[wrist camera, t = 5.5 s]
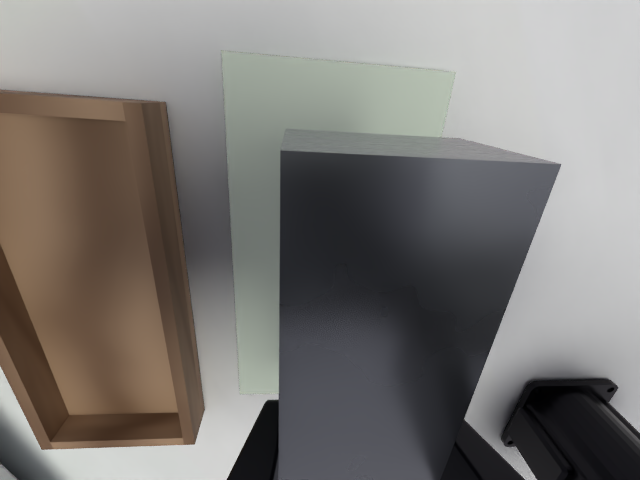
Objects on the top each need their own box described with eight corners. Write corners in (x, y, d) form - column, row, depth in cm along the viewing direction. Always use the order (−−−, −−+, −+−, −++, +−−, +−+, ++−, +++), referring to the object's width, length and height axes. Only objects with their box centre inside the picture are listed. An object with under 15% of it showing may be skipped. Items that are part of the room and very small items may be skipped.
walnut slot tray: (165, 102, 12) (140, 103, 10) (204, 409, 20) (194, 444, 18) (-65, 84, 11) (-140, 82, 9) (67, 412, 19) (41, 449, 17)
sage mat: (449, 72, 13) (455, 72, 12) (381, 383, 20) (383, 391, 20) (224, 52, 12) (221, 50, 11) (241, 386, 19) (239, 394, 19)
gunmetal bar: (459, 138, 7) (561, 164, 4) (376, 485, 13) (398, 588, 10) (285, 128, 7) (280, 150, 4) (281, 490, 13) (277, 599, 10)
